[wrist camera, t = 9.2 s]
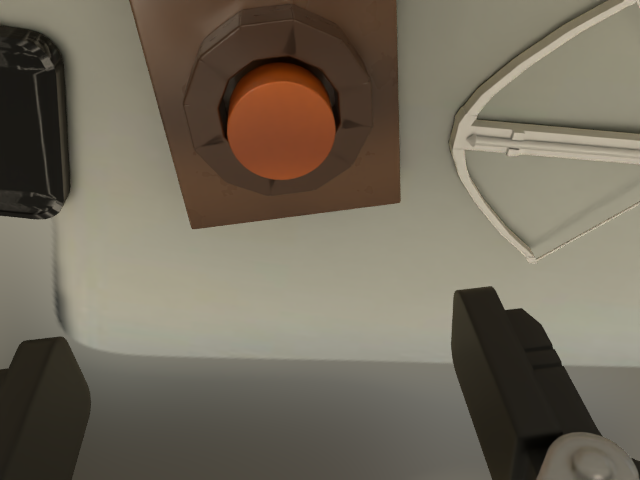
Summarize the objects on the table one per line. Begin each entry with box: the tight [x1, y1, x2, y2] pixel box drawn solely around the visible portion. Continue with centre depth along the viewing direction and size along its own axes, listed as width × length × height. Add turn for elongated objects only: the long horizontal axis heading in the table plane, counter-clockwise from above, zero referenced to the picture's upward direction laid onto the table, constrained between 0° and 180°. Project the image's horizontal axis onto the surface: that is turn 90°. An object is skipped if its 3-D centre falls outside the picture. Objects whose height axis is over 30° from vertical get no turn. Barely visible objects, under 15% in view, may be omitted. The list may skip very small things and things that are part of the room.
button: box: [227, 62, 336, 180], centre depth 21 cm, size 4×4×2 cm
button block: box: [129, 0, 401, 229], centre depth 23 cm, size 11×9×4 cm
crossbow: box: [449, 0, 640, 263], centre depth 27 cm, size 16×13×2 cm
